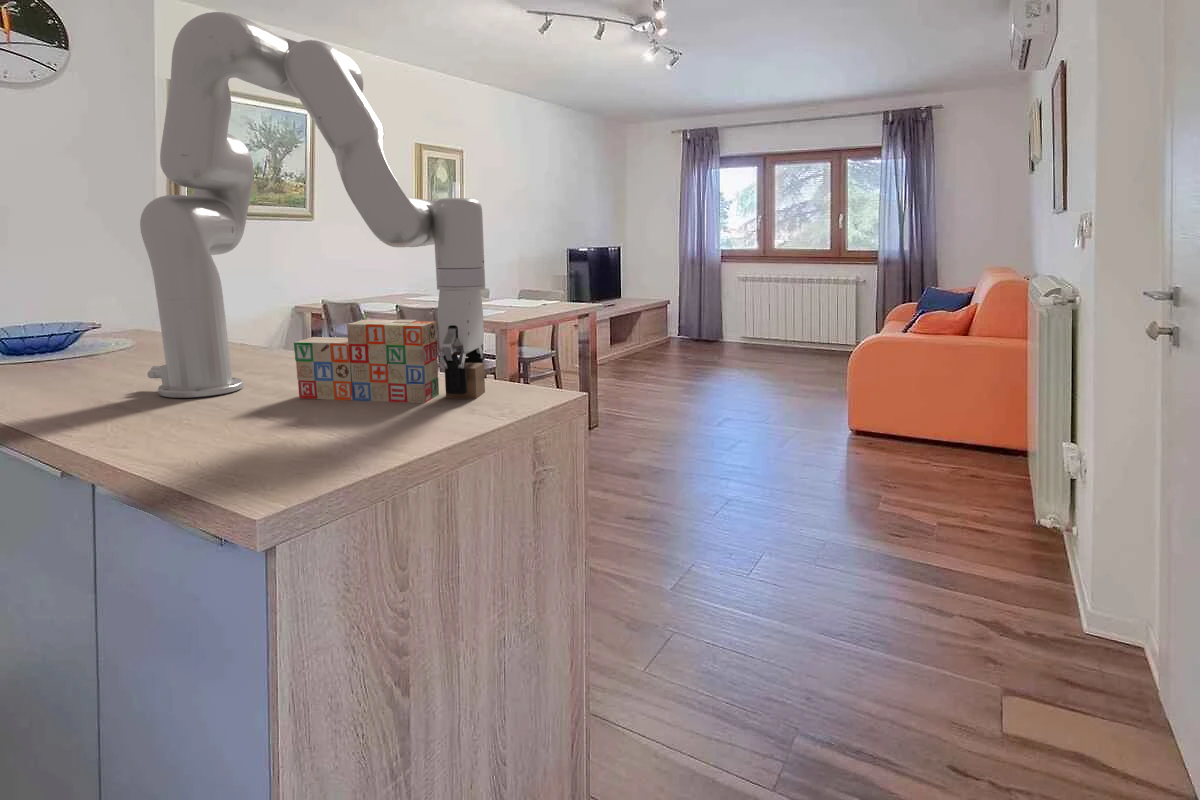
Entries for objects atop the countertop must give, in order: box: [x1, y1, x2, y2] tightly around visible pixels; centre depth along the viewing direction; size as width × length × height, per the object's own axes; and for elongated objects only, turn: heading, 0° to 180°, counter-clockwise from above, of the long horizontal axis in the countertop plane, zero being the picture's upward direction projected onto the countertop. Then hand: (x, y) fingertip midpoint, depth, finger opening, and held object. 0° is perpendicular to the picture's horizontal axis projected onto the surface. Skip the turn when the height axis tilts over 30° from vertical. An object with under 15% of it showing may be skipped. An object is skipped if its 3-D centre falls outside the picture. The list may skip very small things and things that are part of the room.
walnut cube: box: [444, 362, 486, 400], centre depth 121 cm, size 5×5×5 cm
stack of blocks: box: [293, 319, 440, 404], centre depth 119 cm, size 21×6×12 cm, turn 82°
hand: (465, 387), depth 121 cm, fingers open, 8 cm apart
